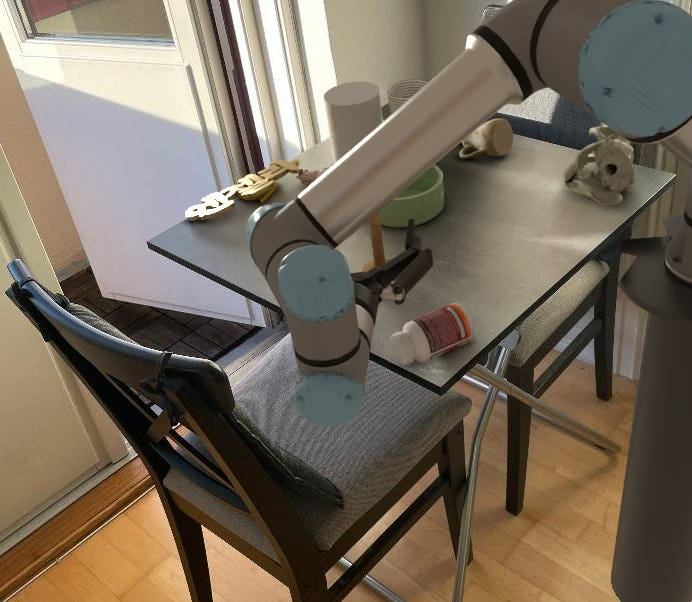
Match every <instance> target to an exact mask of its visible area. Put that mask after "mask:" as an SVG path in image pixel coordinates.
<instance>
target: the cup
mask: <svg viewBox="0 0 692 602" xmlns="http://www.w3.org/2000/svg"><path fill="white" fill-rule="evenodd" d="M428 82H429V81H428V80H426V79H420V78H413V79H411V78H409V79H403V80H400V81H397V82H394V83H393V84H391V85H389V86H388V87H387V89H386V96H387V101H388V106H389V111H390V115H392V114H393V113H394V112H395V111H396V110H397V109H399V108H400V107H401V106H402V105H403V104H404V103H405V102H407V101H408V100H409V99H410V98H411V97H412V96H413V95H415V94H416V93H417V92H418V91H419V90H420V89H422V88H423V87H424V86H425V85H426V84H427V83H428Z"/></svg>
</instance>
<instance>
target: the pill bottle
mask: <svg viewBox="0 0 692 602" xmlns="http://www.w3.org/2000/svg"><path fill="white" fill-rule="evenodd" d="M473 322H474V321H473V320H472V317H471V315H470V313H469V312H468V309H466V307H464V306H463V305H462V304H460V303H459V302H458V303H457V302H452V303H449V304H447V305H445V306H442V307H439V308H437V309H435V310H434V311H431V312H428V313H425V314H424V315H421V316H420V317H417V318H415V319H412V320H410V321H408V322H406V323H405V324H404V326H403V328H402V331H397V332H395V333H393V334H391V335H390V337H389V344H390V348H391V350H392V354H393V355H394V357H395V359H396V360H397V362H398V363H399V364H400V365H402V366H407V365H410V364H412V363H413V362H414V361H416V362H419V363H426V362H428V361H431V360H432V359H436V358H437V357H439V356H442V355H444V354H447V353H448V352H451V351H453V350H456V349H457V348H460V347H463V346H464V345H467V344H468V343H470V342H472V341H473V339H474V336H475V326H474V323H473Z"/></svg>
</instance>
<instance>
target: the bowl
mask: <svg viewBox="0 0 692 602" xmlns="http://www.w3.org/2000/svg"><path fill="white" fill-rule="evenodd" d="M444 206H445V189H444V176H443V171H442V170H441V168H440V167H439V166H438V165H437V164H435V165H433V166H432V167H431V168H430V169H429V170H428V171H426V172H425V173H424V174H423V175H422V176H420V177H419V178H418V179H417V180H416V181H414V182H413V183H412V184H411V185H410V186H409V187H407V188H406V189H405V190H404V191H403V192H401V193H400V194H399V195H398V196H397V197H396V198H394V199H393V200H392V201H391V202H390V203H388V204H387V205H386V206H385V207H384V208H382V209H381V210H380V211H379V214H380V222H381V226H384V227H387V228H388V227H389V228H407V227H408V220H409V219H414V225H415V226H419V225H423V224H425V223H427V222H429V221H430V220H432V219H434V218H435V217H436V216H438V215H439V214H440V212H442V211H443V209H444Z"/></svg>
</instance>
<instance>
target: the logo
mask: <svg viewBox="0 0 692 602" xmlns="http://www.w3.org/2000/svg"><path fill="white" fill-rule="evenodd" d="M253 184H254V183H253ZM275 184H276V185H275V186H274V187H272V188H271V189H269V190H267V191H265V192H263V193H262V194H260V195H258V196H256V197H249V198H245V199H243V198H242V196H240V194H238V195H237V197H238V198H239V199H241V200H242V201H243V200H244V201H255V200H260V203H262V204H263V203H264V202H265V201H266V200H267V199H268V198H269V197H271V195H272V194H273V193H274V192H275V191H276V190H277V189H278V188H279V185H278V182H275Z"/></svg>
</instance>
